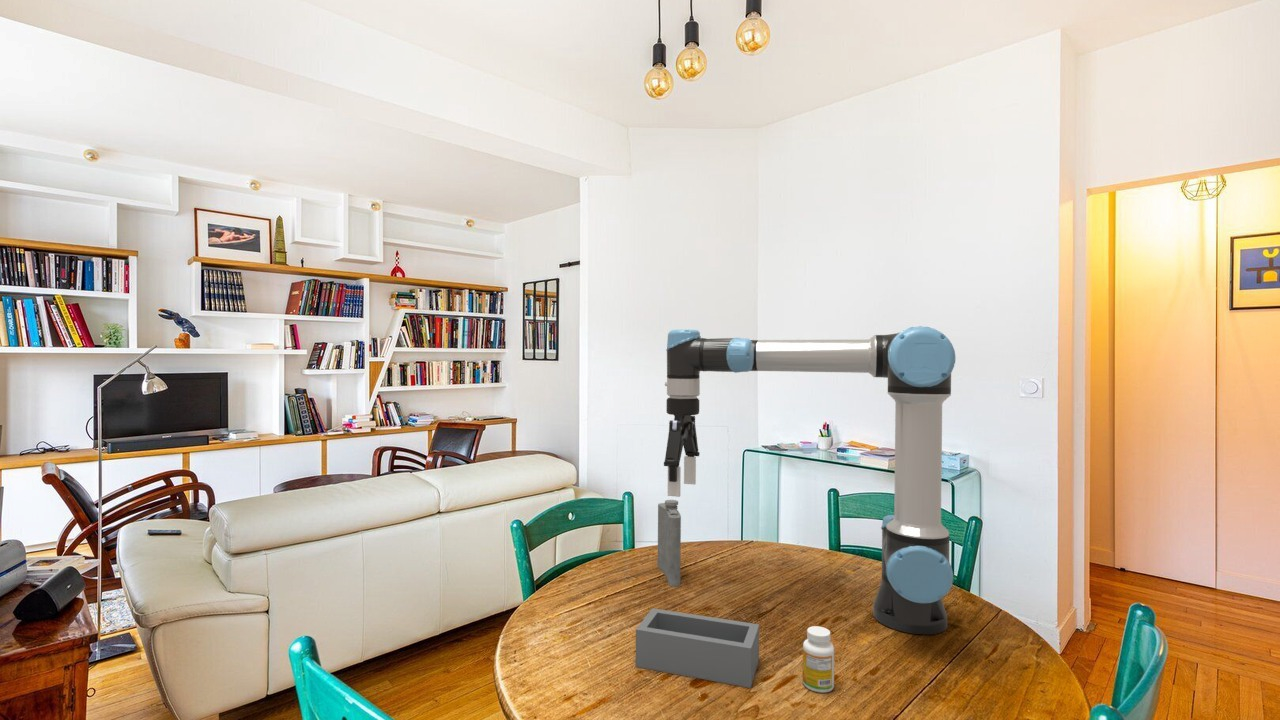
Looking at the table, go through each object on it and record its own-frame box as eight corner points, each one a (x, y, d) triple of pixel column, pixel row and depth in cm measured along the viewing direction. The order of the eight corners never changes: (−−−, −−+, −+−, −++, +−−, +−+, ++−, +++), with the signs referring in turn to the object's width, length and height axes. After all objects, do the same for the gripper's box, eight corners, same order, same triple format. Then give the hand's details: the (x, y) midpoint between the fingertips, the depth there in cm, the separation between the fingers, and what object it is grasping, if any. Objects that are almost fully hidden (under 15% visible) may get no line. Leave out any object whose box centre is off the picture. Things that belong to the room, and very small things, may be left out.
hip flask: (656, 565, 168) (657, 494, 168) (670, 564, 169) (671, 493, 169) (669, 587, 153) (670, 508, 153) (685, 586, 153) (685, 507, 153)
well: (758, 660, 116) (759, 624, 116) (750, 688, 106) (751, 648, 106) (652, 642, 123) (652, 608, 123) (635, 666, 113) (635, 629, 113)
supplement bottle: (810, 674, 111) (810, 621, 111) (838, 684, 107) (839, 630, 107) (797, 686, 107) (798, 631, 107) (827, 697, 103) (827, 640, 103)
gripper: (681, 393, 151) (680, 478, 151) (650, 400, 127) (649, 500, 127) (711, 394, 148) (710, 480, 148) (684, 401, 125) (683, 503, 125)
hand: (682, 489), depth 138 cm, fingers open, 13 cm apart
